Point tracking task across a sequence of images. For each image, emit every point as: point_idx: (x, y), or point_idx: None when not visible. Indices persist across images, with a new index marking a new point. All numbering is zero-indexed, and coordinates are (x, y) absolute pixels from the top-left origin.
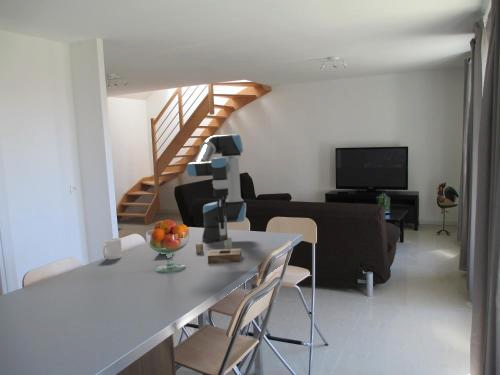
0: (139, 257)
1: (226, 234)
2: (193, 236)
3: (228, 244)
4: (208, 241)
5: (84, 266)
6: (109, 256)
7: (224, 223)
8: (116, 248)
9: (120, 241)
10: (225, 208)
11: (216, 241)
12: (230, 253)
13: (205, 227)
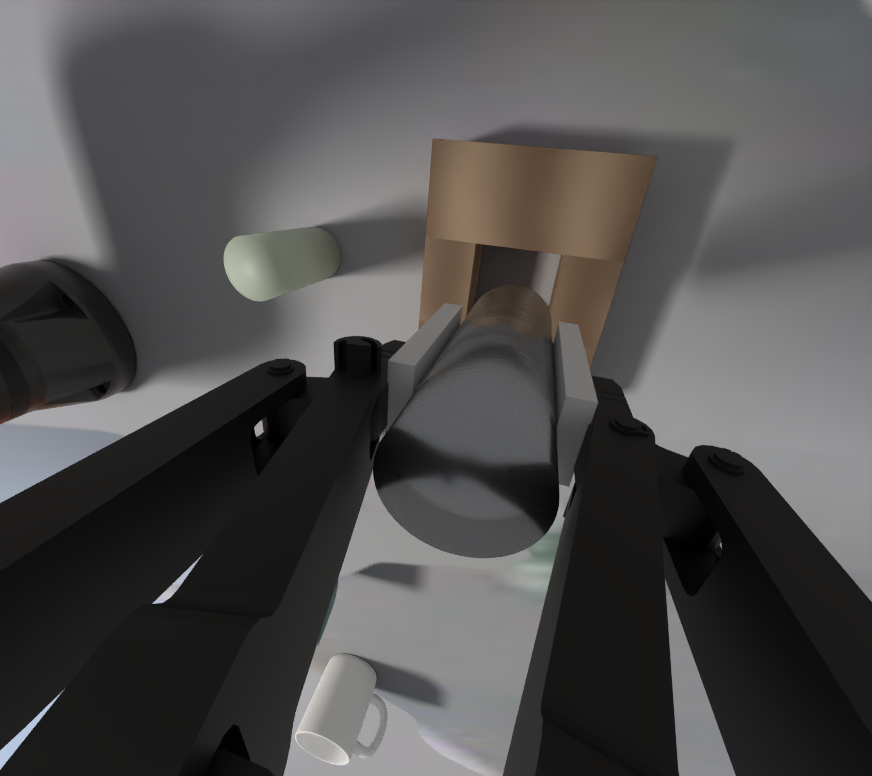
0: (364, 618)
1: (540, 312)
2: (47, 425)
3: (310, 259)
4: (130, 367)
5: (437, 729)
6: (373, 693)
7: (591, 398)
8: (355, 710)
9: (324, 724)
10: (94, 490)
11: (119, 324)
12: (577, 248)
13: (25, 412)
